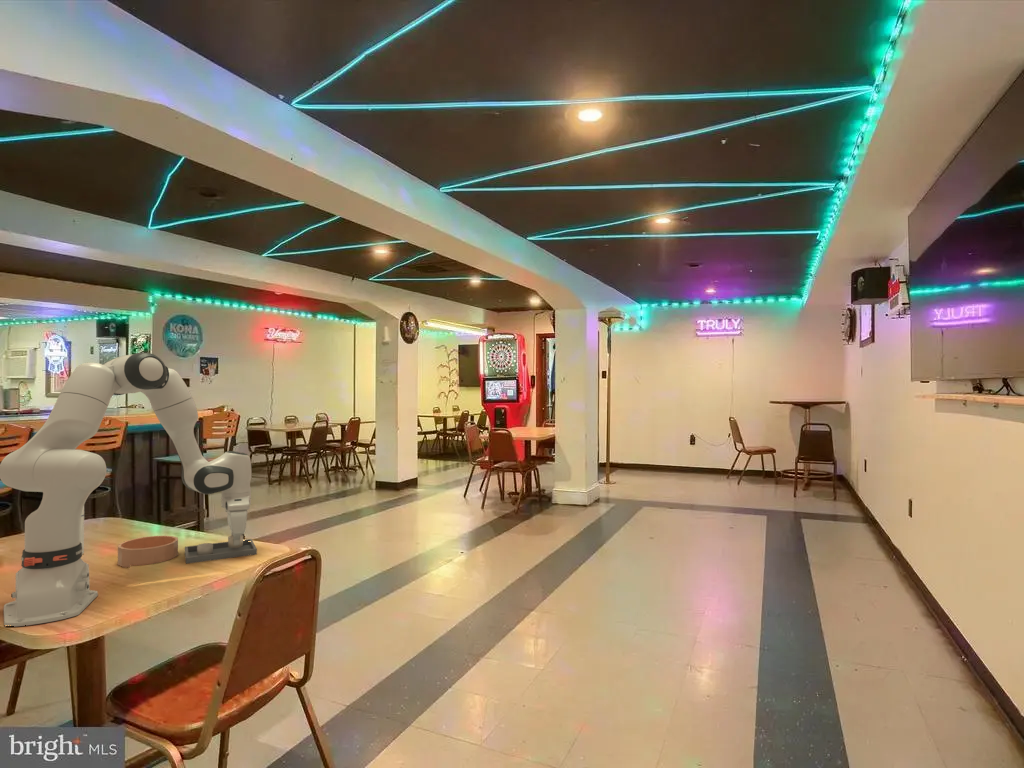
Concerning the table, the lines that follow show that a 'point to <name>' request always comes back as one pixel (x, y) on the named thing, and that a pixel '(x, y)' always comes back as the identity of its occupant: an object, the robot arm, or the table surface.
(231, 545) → the sandstone pebble
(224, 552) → the parts tray
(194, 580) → the table surface
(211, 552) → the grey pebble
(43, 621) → the robot arm
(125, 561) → the terracotta bowl
